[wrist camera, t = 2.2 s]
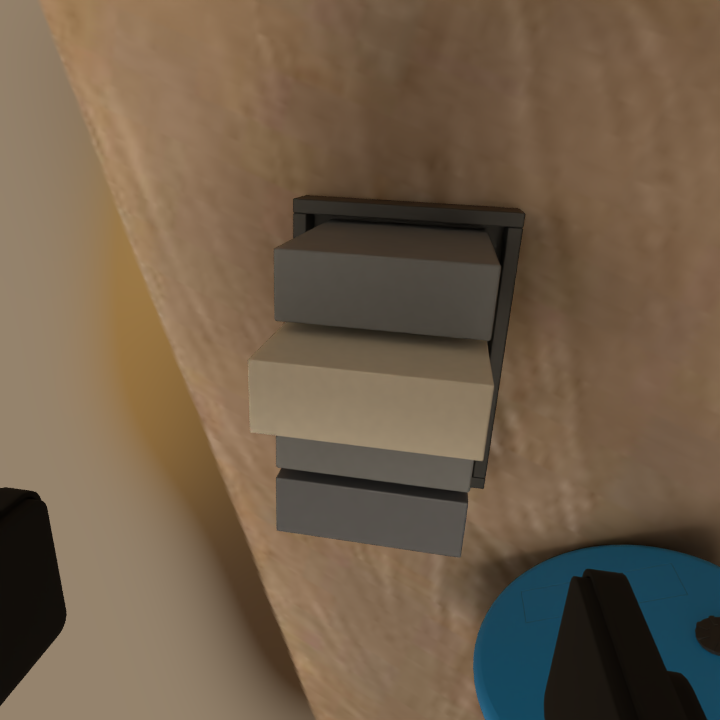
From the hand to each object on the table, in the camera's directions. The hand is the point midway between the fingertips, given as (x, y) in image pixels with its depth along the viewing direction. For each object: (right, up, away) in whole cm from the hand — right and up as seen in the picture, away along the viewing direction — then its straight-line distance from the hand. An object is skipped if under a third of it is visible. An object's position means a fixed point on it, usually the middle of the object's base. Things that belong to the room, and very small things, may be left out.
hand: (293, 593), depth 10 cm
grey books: (+3, +5, +17) cm, 18 cm away
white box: (+3, +7, +16) cm, 18 cm away
